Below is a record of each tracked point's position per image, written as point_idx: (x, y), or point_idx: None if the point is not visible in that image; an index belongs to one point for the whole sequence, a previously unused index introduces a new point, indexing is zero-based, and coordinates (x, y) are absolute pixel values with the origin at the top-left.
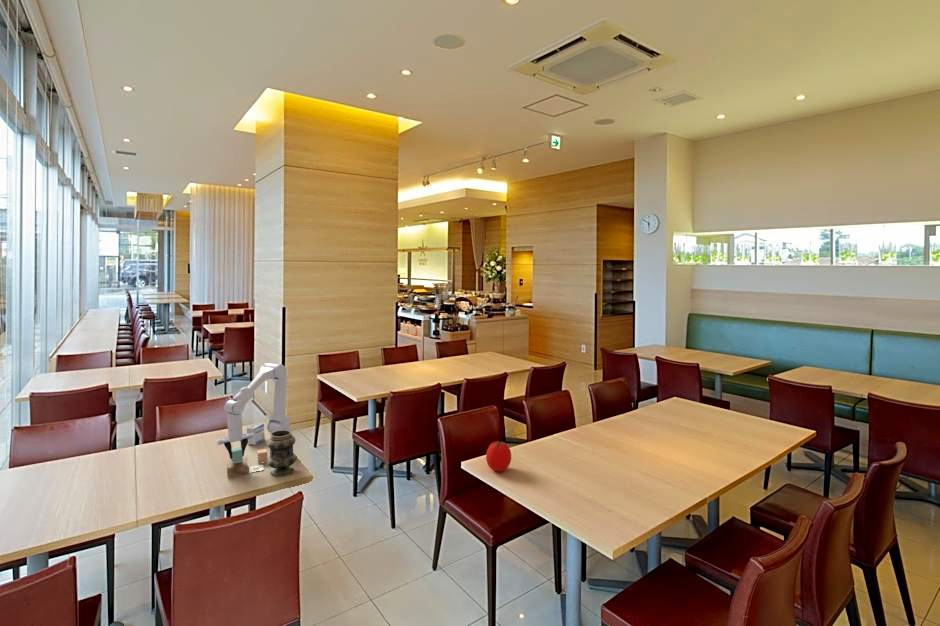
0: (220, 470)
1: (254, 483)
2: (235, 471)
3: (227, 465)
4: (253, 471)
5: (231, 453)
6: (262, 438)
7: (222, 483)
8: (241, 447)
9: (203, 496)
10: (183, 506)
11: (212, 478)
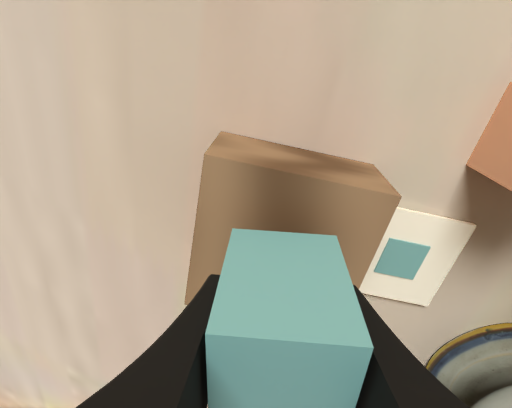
0: (164, 109)
1: None
2: None
3: (193, 260)
4: (365, 287)
5: (207, 391)
6: None
7: (167, 315)
8: (369, 395)
9: (82, 378)
10: (14, 403)
11: (109, 220)
